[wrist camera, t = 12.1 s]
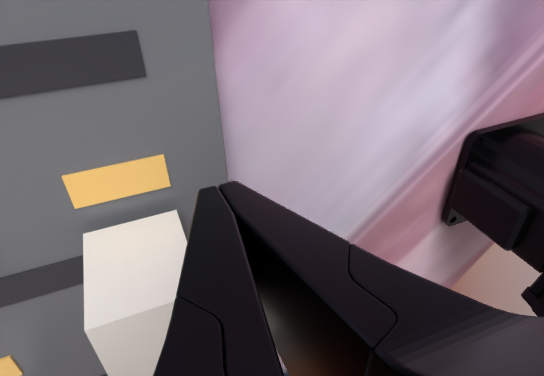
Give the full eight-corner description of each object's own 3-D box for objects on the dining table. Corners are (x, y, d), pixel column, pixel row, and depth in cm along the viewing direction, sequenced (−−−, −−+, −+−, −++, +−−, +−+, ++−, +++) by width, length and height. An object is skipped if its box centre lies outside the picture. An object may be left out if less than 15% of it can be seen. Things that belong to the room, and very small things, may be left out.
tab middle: (176, 209, 13) (203, 291, 10) (191, 279, 15) (218, 363, 12) (83, 233, 12) (84, 330, 9) (112, 304, 14) (121, 401, 12)
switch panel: (175, -131, 10) (193, -140, 9) (237, 343, 23) (249, 374, 22) (-711, -135, 6) (-990, -152, 4) (-31, 444, 19) (-41, 492, 17)
